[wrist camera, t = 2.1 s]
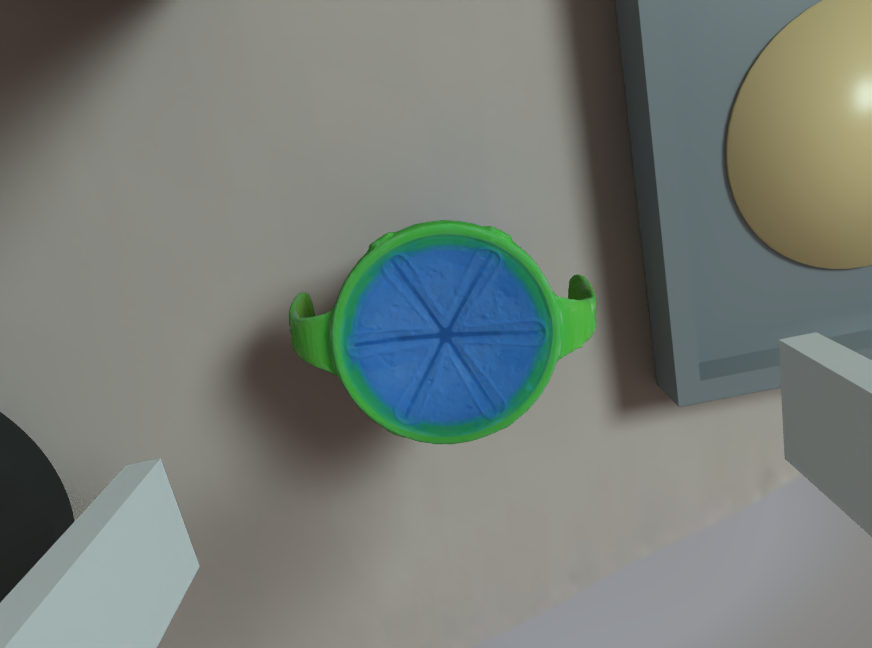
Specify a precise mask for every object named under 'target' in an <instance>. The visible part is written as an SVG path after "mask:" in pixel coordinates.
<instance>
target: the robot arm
mask: <svg viewBox="0 0 872 648" xmlns="http://www.w3.org/2000/svg"><path fill="white" fill-rule="evenodd" d="M779 356H780V375H781V395H782V414H783V434H784V453H785V459H786V460H787V461H788V462H789V463H790V464H791V465H793V466H794V467H795V468H796V469H797V470H798V471H799V472H800V473H801V474H803V475H804V476H805V477H806V478H807V479H808V480H809V481H810V482H811V483H813V484H814V485H815V486H816V487H817V488H818V489H819V490H820V491H821V492H823V493H824V494H825V495H826V496H827V497H828V498H829V499H830V500H831V501H832V502H834V503H835V504H836V505H837V506H838V507H839V508H840V509H841V510H842V511H844V512H845V513H846V514H847V515H848V516H849V517H850V518H851V519H852V520H854V521H855V522H856V523H857V524H858V525H859V526H860V527H861V528H863V529H864V530H865V531H866V532H867V533H868V534H869V535H870V536H871V537H872V360H870V359H868V358H866V357H864V356H862V355H860V354H858V353H856V352H854V351H852V350H851V349H849V348H847V347H845V346H843V345H841V344H839V343H837V342H835V341H833V340H831V339H829V338H827V337H825V336H823V335H821V334H819V333H817V332H815V333H810V334H805V335H800V336H795V337H789V338H784V339H779ZM199 567H200V566H199V563H198V560H197V558H196V555H195V552H194V549H193V547H192V544H191V541H190V538H189V536H188V533H187V530H186V527H185V525H184V522H183V519H182V516H181V514H180V511H179V508H178V505H177V503H176V500H175V497H174V494H173V492H172V489H171V486H170V483H169V481H168V478H167V475H166V472H165V470H164V467H163V464H162V461H161V459H156V460H151V461H145V462H140V463H135V464H130V465H126V466H125V467H124V468H123V469H122V470H121V471H120V472H119V473H118V475H117V476H116V477H115V478H114V479H113V480H112V481H111V482H110V483H109V484H108V485H107V487H106V488H105V489H104V490H103V491H102V492H101V493H100V494H99V495H98V496H97V498H96V499H95V500H94V501H93V502H92V503H91V504H90V505H89V506H88V507H87V508H86V510H85V511H84V512H83V513H82V514H81V515H80V516H79V517H78V518H77V519H76V521H75V522H74V517H73V512H72V508H71V505H70V501H69V498H68V496H67V493H66V490H65V488H64V486H63V484H62V482H61V479H60V478H59V476H58V474H57V472H56V470H55V469H54V467H53V466H52V464H51V463H50V461H49V460H48V458H47V457H46V456H45V454H44V453H43V452H42V450H41V449H40V448H39V447H38V446H37V445H36V443H35V442H34V441H33V440H32V439H31V438H30V437H29V436H28V435H27V434H26V433H25V432H24V431H23V430H22V429H21V428H20V427H18V426H17V425H16V424H15V423H14V422H13V421H11V420H10V419H9V418H7V417H6V416H5V415H4V414H2V413H1V412H0V648H157V646H158V644H159V642H160V640H161V639H162V637H163V635H164V633H165V631H166V629H167V627H168V625H169V623H170V622H171V620H172V618H173V616H174V614H175V612H176V610H177V608H178V606H179V604H180V603H181V601H182V599H183V597H184V595H185V593H186V591H187V589H188V587H189V586H190V584H191V582H192V580H193V578H194V576H195V574H196V572H197V570H198V568H199Z"/></svg>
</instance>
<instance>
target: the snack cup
mask: <svg viewBox="0 0 872 648" xmlns="http://www.w3.org/2000/svg"><path fill="white" fill-rule="evenodd" d="M595 307H596V296H595V292H594V290H593V288H592V286H591V284H590V283H589V282H588V280H587V279H586V278H585V277H584V276H581V275H574V276H573V277H572V278H571V279H570V281H569V289H568V299H567V298H562V297H559V296H557V295H555V294H554V292H553V291H552V290H551V288H550V285H549V283H548V281H547V279H546V278H545V276H544V275H543V273H542V272H541V270H540V269H539V267H538V266H537V264H536V263H535V262H534V261H533V260H532V258H531V257H530V256H529V255H528V254H527V253H526V252H525V251H524V250H522V249H521V248H520V247H519V246H518V245H516V244H515V243H514V242H513V241H512V238H511V236H510V235H508V234H506V233H505V232H503V231H501V230H499V229H496V228H494V227H492V226H479V225H476V224H472V223H466V222H461V221H449V220H440V221H432V222H426V223H420V224H416V225H412V226H410V227H407V228H405V229H402V230H400V231H398V232H389V233H387V234H385V235H383V236H382V237H380V238H379V239H377V240H376V241H375V242H373V243H372V244H370V246H369V250H368V251H367V253H366V254H365V255H364V256H363V257H362V258H361V259H360V260H359V261H358V263H357V264H356V265H355V267H354V268H353V270H352V271H351V272H350V274H349V275H348V277H347V279H346V281H345V282H344V284H343V286H342V288H341V290H340V293H339V296H338V298H337V301H336V304H335V306H334V308H333V309H331V310H330V311H329V312H327V313H325V314H322V315H318V316H315V314H314V309H313V304H312V301H311V298H310V296H309V295H308V294H307V293H300V294H298V295H297V296H296V297H295V299H294V301H293V303H292V305H291V307H290V310H289V325H290V332H291V335H292V345H293V349H294V351H295V352H296V354H297V355H299V357H301V358H302V359H303V360H304V361H306V362H307V363H309V364H312V365H313V366H315V367H317V368H320V369H323V370H325V371H328V372H331V373H333V374H335V375H337V376H338V377H339V378H340V379H341V381H342V383H343V385H344V387H345V389H346V390H347V392H348V393H349V395H350V396H351V398H352V399H353V400H354V402H355V403H356V404H357V406H358V407H359V408H360V409H361V410H362V411H363V412H364V413H365V414H366V415H367V416H369V417H370V418H371V419H372V420H373V421H375V422H376V423H378V424H380V425H381V426H382V427H384V428H386V429H387V431H389V432H391V433H393V434H395V435H397V436H401V437H403V438H405V437H406V438H409V439H412V440H415V441H420V442H425V443H432V444H455V443H463V442H468V441H473V440H477V439H479V438H482V437H485V436H488V435H490V434H493V433H495V432H497V431H499V430H502V429H504V428H506V427H508V426H510V425H511V424H512V423H514V421H515V420H517V419H518V418H519V417H520V416H522V415H523V414H524V413H525V412H526V411H527V410H528V409H529V408H530V407H531V406H532V404H534V402H535V401H536V400H537V399H538V397H539V396H540V395H541V393H542V392H543V390H544V388H545V387H546V385H547V383H548V382H549V380H550V377H551V375H552V373H553V371H554V367H555V364H556V362H557V361H558V360H559V359H561V358H562V357H563V356H565V355H567V354H569V353H571V352H573V351H574V350H576V349H577V348H580V347H582V345H583V344H584V343H585V342H586V341H587V340H589V339H590V338H591V337H592V335H593V333H594V330H595V328H596V318H595V314H596V309H595Z"/></svg>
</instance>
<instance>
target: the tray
mask: <svg viewBox="0 0 872 648" xmlns="http://www.w3.org/2000/svg"><path fill="white" fill-rule="evenodd" d="M615 6H616V15H617V24H618V33H619V42H620V51H621V60H622V70H623V79H624V88H625V97H626V106H627V115H628V124H629V133H630V142H631V151H632V160H633V170H634V179H635V188H636V197H637V206H638V215H639V224H640V233H641V242H642V251H643V260H644V270H645V279H646V288H647V297H648V306H649V315H650V324H651V333H652V342H653V351H654V360H655V370H656V379H657V384H658V386H659V387H660V388H661V389H662V390H663V391H664V392H665V393H666V394H667V395H668V396H669V397H670V398H671V399H672V400H673V401H674V402H675V403H676V404H677V405H678V406H679V407H681V406H686V405H691V404H697V403H702V402H707V401H712V400H717V399H722V398H728V397H733V396H738V395H743V394H748V393H753V392H758V391H764V390H769V389H774V388H779V387H781V375H780V356H779V339H784V338H789V337H795V336H800V335H805V334H810V333H815V332H817V333H819V334H821V335H823V336H825V337H827V338H829V339H831V340H833V341H835V342H837V343H839V344H841V345H843V346H845V347H847V348H849V349H851V350H852V351H854V352H856V353H858V354H860V355H862V356H864V357H866V358H868V359H870V360H872V0H615Z"/></svg>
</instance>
